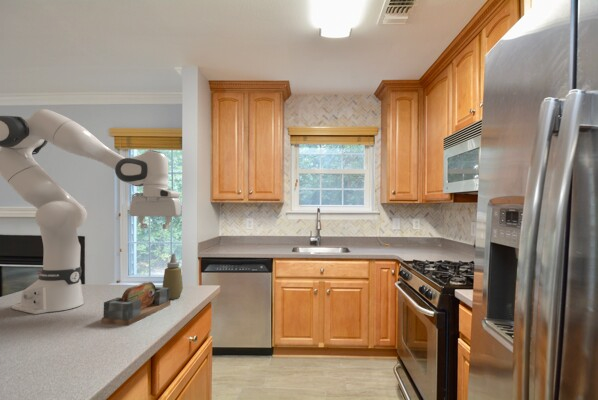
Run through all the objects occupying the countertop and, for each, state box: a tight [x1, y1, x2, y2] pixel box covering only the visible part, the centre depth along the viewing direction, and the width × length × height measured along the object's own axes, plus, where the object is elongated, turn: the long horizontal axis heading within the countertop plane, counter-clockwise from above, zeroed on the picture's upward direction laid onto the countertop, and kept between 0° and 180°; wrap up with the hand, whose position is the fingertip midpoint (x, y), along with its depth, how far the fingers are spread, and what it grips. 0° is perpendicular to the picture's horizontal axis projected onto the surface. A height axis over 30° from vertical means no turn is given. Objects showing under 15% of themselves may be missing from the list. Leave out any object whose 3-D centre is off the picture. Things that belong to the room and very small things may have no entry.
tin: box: [121, 281, 156, 309], centre depth 111 cm, size 15×3×8 cm, turn 169°
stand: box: [100, 286, 171, 326], centre depth 110 cm, size 10×22×6 cm, turn 169°
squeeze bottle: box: [162, 253, 184, 300], centre depth 130 cm, size 8×8×18 cm
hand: (154, 228), depth 121 cm, fingers open, 8 cm apart
